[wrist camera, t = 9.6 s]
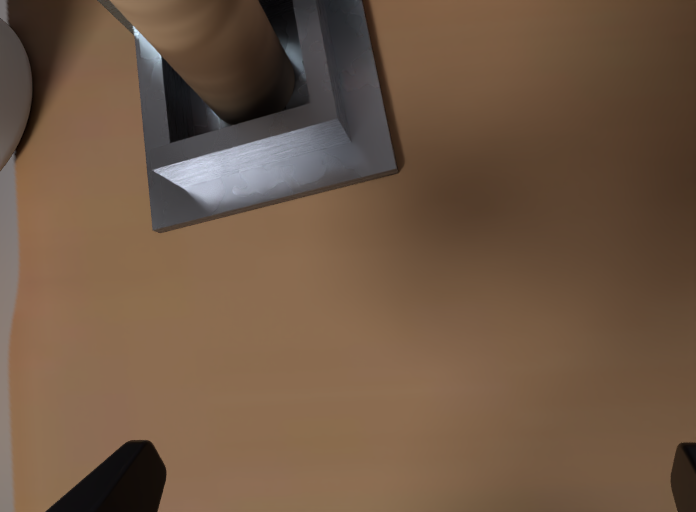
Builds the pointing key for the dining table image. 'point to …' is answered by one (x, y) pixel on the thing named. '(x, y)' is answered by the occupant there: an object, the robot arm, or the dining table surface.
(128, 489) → the robot arm
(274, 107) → the tan round-top cylinder
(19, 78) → the cylinder vase
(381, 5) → the dining table surface
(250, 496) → the dining table surface
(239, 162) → the cup bracket
